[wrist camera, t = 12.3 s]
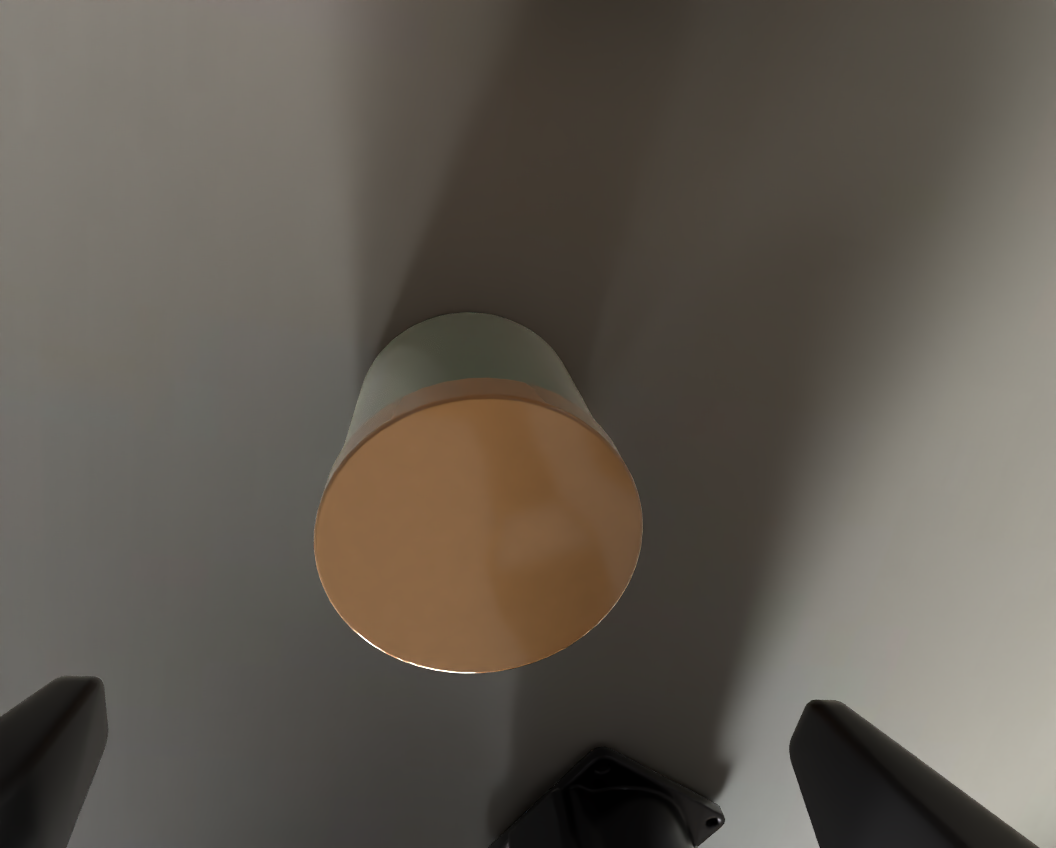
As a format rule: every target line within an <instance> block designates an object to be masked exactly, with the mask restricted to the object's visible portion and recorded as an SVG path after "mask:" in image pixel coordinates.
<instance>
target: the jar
mask: <svg viewBox="0 0 1056 848" xmlns="http://www.w3.org/2000/svg"><path fill="white" fill-rule="evenodd" d="M642 534H643V516H642V507H641V502H640V497H639V493H638V490H637V487H636V485H635V482H634V479H633V477H632V475H631V473H630V471H629V469H628V467H627V466H626V464H625V462H624V460H623V459H622V457H621V455H620V453H619V452H618V450H617V448H616V446H615V445H614V443H613V441H612V440H611V439H610V437H609V436H608V435H607V433H606V432H605V431H604V430H603V428H602V427H601V426H600V425H599V424H598V423H597V422H596V421H595V420H594V418H593V416H592V415H591V413H590V411H589V409H588V407H587V406H586V404H585V402H584V400H583V398H582V397H581V395H580V393H579V391H578V389H577V388H576V386H575V384H574V382H573V380H572V379H571V377H570V375H569V373H568V371H567V370H566V368H565V366H564V364H563V363H562V361H561V359H560V358H559V357H558V355H557V354H556V353H555V351H554V350H553V349H552V348H551V347H550V346H549V345H548V344H547V343H546V342H545V341H544V340H543V339H542V338H541V337H539V336H538V335H537V334H535V333H534V332H533V331H531V330H530V329H528V328H526V327H524V326H522V325H521V324H519V323H517V322H514V321H511V320H509V319H506V318H504V317H500V316H496V315H491V314H485V313H476V312H463V313H453V314H446V315H441V316H438V317H434V318H431V319H428V320H425V321H423V322H421V323H418V324H416V325H414V326H412V327H411V328H409V329H407V330H406V331H404V332H402V333H401V334H400V335H398V336H397V337H396V338H395V339H393V340H392V341H391V342H390V343H389V344H388V345H387V346H386V347H385V348H384V349H383V350H382V351H381V352H380V354H379V355H378V356H377V358H376V359H375V360H374V362H373V363H372V365H371V367H370V369H369V371H368V372H367V374H366V376H365V379H364V382H363V384H362V387H361V390H360V393H359V397H358V400H357V403H356V406H355V410H354V413H353V416H352V420H351V423H350V426H349V429H348V433H347V436H346V439H345V442H344V446H343V449H342V450H341V452H340V453H339V455H338V457H337V459H336V461H335V463H334V465H333V466H332V468H331V471H330V473H329V476H328V479H327V482H326V485H325V488H324V491H323V494H322V497H321V500H320V503H319V506H318V509H317V515H316V520H315V525H314V554H315V562H316V567H317V570H318V574H319V577H320V580H321V584H322V586H323V588H324V590H325V592H326V594H327V596H328V598H329V600H330V602H331V603H332V605H333V606H334V608H335V609H336V611H337V612H338V614H339V615H340V617H341V618H342V619H343V620H344V621H345V622H346V623H347V624H348V625H349V626H350V627H351V629H352V630H353V631H355V632H356V633H357V634H358V635H359V636H361V637H362V638H363V639H364V640H365V641H367V642H368V643H370V644H371V645H373V646H374V647H376V648H377V649H379V650H381V651H382V652H384V653H386V654H388V655H390V656H392V657H394V658H396V659H398V660H401V661H404V662H406V663H409V664H412V665H415V666H418V667H422V668H427V669H431V670H435V671H442V672H451V673H475V674H476V673H488V672H497V671H503V670H508V669H514V668H517V667H521V666H524V665H528V664H531V663H534V662H537V661H539V660H542V659H544V658H547V657H549V656H551V655H553V654H555V653H557V652H559V651H561V650H563V649H565V648H567V647H568V646H570V645H571V644H573V643H574V642H576V641H577V640H579V639H580V638H582V637H583V636H585V635H586V634H587V633H588V632H589V631H591V630H592V629H593V628H594V627H595V626H597V625H598V624H599V623H600V622H601V621H602V619H603V618H604V617H605V616H606V615H607V614H608V613H609V612H610V611H611V610H612V608H613V607H614V606H615V604H616V603H617V602H618V600H619V599H620V598H621V596H622V594H623V593H624V591H625V589H626V587H627V586H628V584H629V582H630V580H631V578H632V575H633V573H634V570H635V568H636V565H637V562H638V558H639V554H640V550H641V544H642Z"/></svg>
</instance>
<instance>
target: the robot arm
mask: <svg viewBox="0 0 1056 848" xmlns="http://www.w3.org/2000/svg"><path fill="white" fill-rule="evenodd" d="M107 738H108V719H107V709H106V699H105V689H104V684H103V682H102V680H101V679H100V678H98V677H95V676H62V677H59V678H57V679H55V680H53V681H51V682H50V683H49V684H47V685H46V686H44V687H43V688H41V689H40V690H38V691H37V692H35V693H34V694H33V695H31V696H30V697H28V698H27V699H25V700H24V701H22V702H21V703H19V704H18V705H17V706H15V707H14V708H12V709H11V710H9V711H8V712H6V713H5V714H3V715H2V716H1V717H0V848H66V847H67V844H68V842H69V839H70V837H71V834H72V832H73V829H74V826H75V824H76V821H77V819H78V816H79V814H80V811H81V809H82V806H83V803H84V801H85V798H86V796H87V793H88V791H89V788H90V786H91V783H92V780H93V778H94V775H95V773H96V770H97V768H98V765H99V763H100V760H101V758H102V755H103V752H104V749H105V746H106V743H107ZM789 753H790V759H791V763H792V766H793V769H794V772H795V775H796V778H797V781H798V784H799V787H800V790H801V793H802V796H803V799H804V802H805V805H806V808H807V811H808V814H809V817H810V820H811V823H812V826H813V829H814V832H815V835H816V838H817V841H818V844H819V847H820V848H1039V847H1038V846H1036V845H1035V844H1034V843H1032V842H1031V841H1029V840H1028V839H1027V838H1025V837H1024V836H1023V835H1021V834H1020V833H1019V832H1017V831H1016V830H1015V829H1013V828H1012V827H1010V826H1009V825H1008V824H1006V823H1005V822H1004V821H1002V820H1001V819H1000V818H998V817H997V816H996V815H994V814H993V813H991V812H990V811H989V810H987V809H986V808H985V807H983V806H982V805H981V804H979V803H978V802H977V801H975V800H974V799H973V798H971V797H970V796H968V795H967V794H966V793H964V792H963V791H962V790H960V789H959V788H958V787H956V786H955V785H954V784H952V783H951V782H949V781H948V780H947V779H945V778H944V777H943V776H941V775H940V774H939V773H937V772H936V771H935V770H933V769H932V768H930V767H929V766H928V765H926V764H925V763H924V762H922V761H921V760H920V759H918V758H917V757H916V756H914V755H913V754H911V753H910V752H909V751H907V750H906V749H905V748H903V747H902V746H901V745H899V744H898V743H897V742H895V741H894V740H892V739H891V738H890V737H888V736H887V735H886V734H884V733H883V732H882V731H880V730H879V729H878V728H876V727H875V726H873V725H872V724H871V723H869V722H868V721H867V720H865V719H864V718H863V717H861V716H860V715H859V714H857V713H856V712H854V711H853V710H852V709H850V708H849V707H848V706H846V705H845V704H843V703H842V702H839V701H836V700H811V701H810V702H809V703H808V704H807V705H806V706H805V708H804V711H803V713H802V715H801V717H800V720H799V722H798V724H797V726H796V728H795V731H794V733H793V735H792V737H791V740H790V745H789ZM724 822H725V818H724V815H723V813H722V810H721V808H720V806H719V805H718V804H716V803H714V802H712V801H710V800H708V799H706V798H704V797H702V796H700V795H699V794H697V793H695V792H693V791H691V790H689V789H687V788H685V787H683V786H681V785H679V784H677V783H675V782H674V781H672V780H670V779H668V778H666V777H664V776H662V775H660V774H658V773H656V772H654V771H652V770H650V769H649V768H647V767H645V766H643V765H641V764H639V763H637V762H635V761H633V760H631V759H629V758H627V757H626V756H624V755H622V754H620V753H618V752H616V751H614V750H612V749H610V748H607V747H599V748H596V749H594V750H592V751H591V752H589V753H588V754H587V755H586V756H585V757H584V758H583V759H582V760H581V761H580V762H579V763H578V764H577V765H575V766H574V767H573V768H572V769H571V770H570V771H569V772H568V773H567V774H566V775H565V776H564V777H563V778H562V779H561V780H560V781H558V782H557V783H556V784H555V785H554V786H553V787H552V788H551V789H550V790H549V791H548V792H547V793H546V794H545V795H544V796H542V797H541V798H540V799H539V800H538V801H537V802H536V803H535V804H534V805H533V806H532V807H531V808H530V809H529V810H528V811H527V812H525V813H524V814H523V815H522V816H521V817H520V818H519V819H518V820H517V821H516V822H515V823H514V824H513V825H512V826H511V827H509V828H508V829H507V830H506V831H505V832H504V833H503V834H502V835H501V836H500V837H499V838H498V839H497V840H496V841H495V842H494V843H492V844H491V845H490V846H489V847H488V848H697V847H698V846H699V845H700V844H701V843H703V842H704V841H705V840H706V839H707V838H709V837H710V836H711V835H712V834H713V833H715V832H716V831H717V830H718V829H719V828H721V827H722V825H723V824H724Z"/></svg>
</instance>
